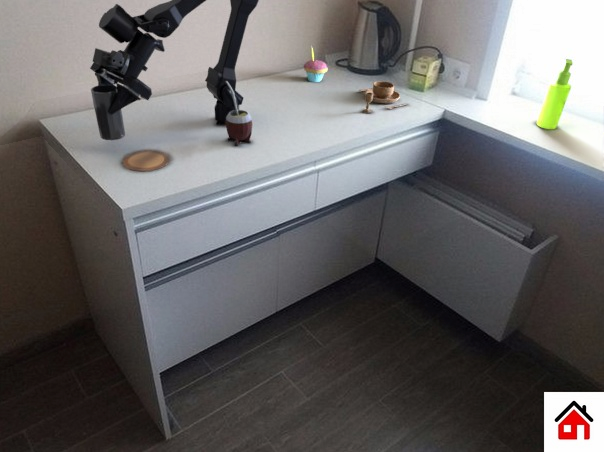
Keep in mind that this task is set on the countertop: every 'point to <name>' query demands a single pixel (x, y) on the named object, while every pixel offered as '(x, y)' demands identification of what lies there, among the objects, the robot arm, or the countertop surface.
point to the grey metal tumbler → (107, 123)
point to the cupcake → (315, 69)
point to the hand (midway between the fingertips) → (102, 109)
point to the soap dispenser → (555, 98)
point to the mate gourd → (238, 124)
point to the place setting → (381, 94)
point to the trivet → (145, 160)
